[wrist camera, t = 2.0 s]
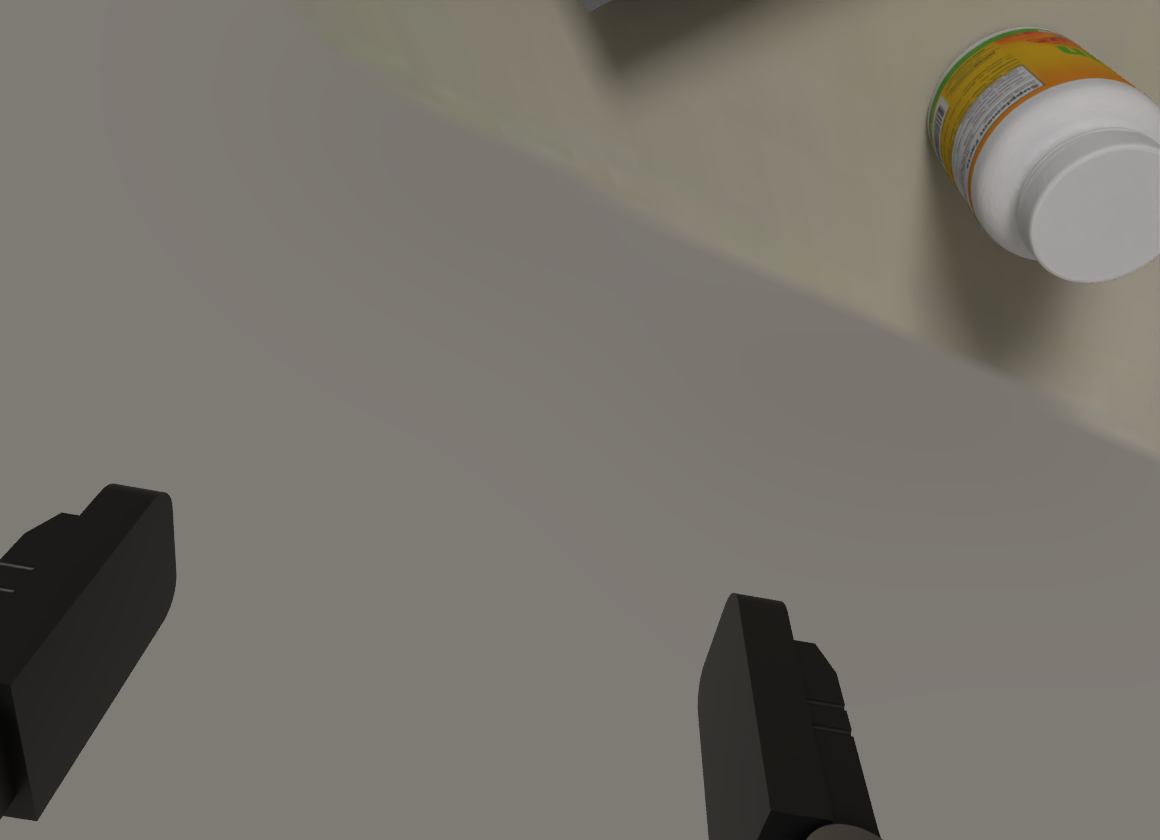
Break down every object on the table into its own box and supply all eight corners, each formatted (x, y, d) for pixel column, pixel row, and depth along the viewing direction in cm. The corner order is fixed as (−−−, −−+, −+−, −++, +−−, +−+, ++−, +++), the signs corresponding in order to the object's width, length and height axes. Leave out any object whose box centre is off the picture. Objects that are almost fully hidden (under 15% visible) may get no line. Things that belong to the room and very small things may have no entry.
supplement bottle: (1120, 90, 31) (1268, 202, 24) (992, 205, 34) (1086, 340, 26) (1017, -13, 30) (1139, 71, 22) (891, 118, 33) (959, 233, 25)
